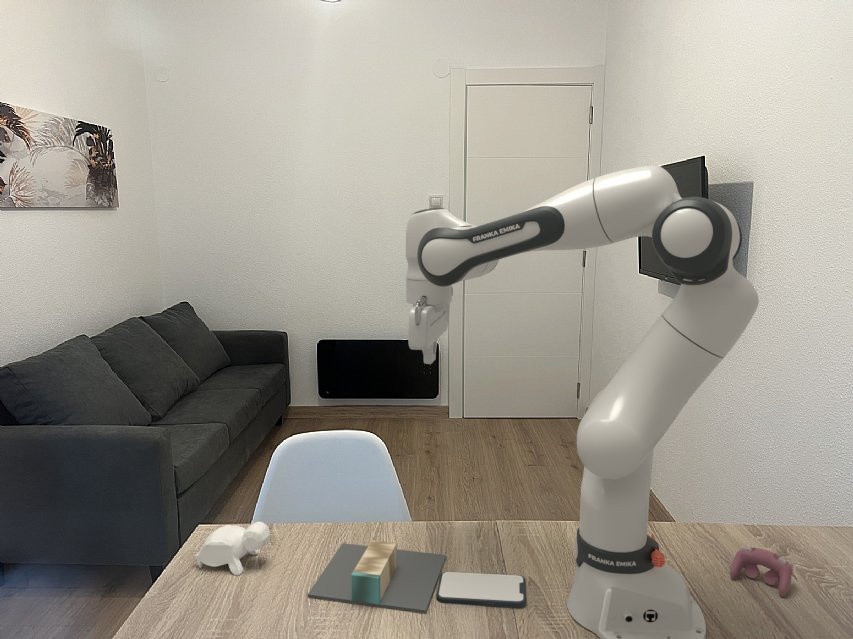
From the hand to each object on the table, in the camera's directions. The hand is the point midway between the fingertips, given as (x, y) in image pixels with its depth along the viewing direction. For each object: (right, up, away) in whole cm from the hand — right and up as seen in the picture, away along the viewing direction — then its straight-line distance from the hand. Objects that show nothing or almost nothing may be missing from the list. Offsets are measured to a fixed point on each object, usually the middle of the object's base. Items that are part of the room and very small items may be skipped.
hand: (429, 362), depth 125 cm
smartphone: (+9, -42, -9) cm, 44 cm away
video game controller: (+61, -41, -7) cm, 74 cm away
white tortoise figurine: (-39, -40, +1) cm, 56 cm away
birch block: (-9, -37, -2) cm, 38 cm away
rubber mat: (-9, -41, -4) cm, 42 cm away
